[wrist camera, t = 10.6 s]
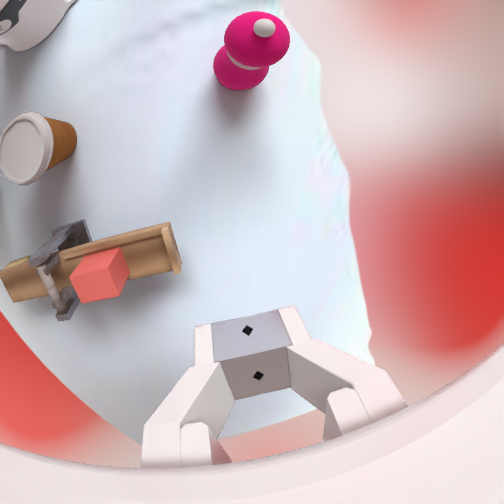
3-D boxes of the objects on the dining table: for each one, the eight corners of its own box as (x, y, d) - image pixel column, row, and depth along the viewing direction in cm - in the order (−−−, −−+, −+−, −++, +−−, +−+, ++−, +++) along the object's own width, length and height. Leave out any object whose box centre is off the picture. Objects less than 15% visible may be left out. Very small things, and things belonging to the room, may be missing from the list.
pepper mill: (260, 95, 36) (309, 69, 18) (211, 92, 35) (216, 59, 17) (263, 51, 33) (310, -1, 15) (214, 48, 32) (223, -13, 14)
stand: (53, 229, 38) (17, 262, 27) (84, 219, 39) (50, 251, 28) (75, 281, 43) (48, 323, 32) (105, 274, 44) (82, 318, 33)
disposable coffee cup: (87, 109, 32) (49, 106, 21) (84, 169, 36) (47, 186, 25) (40, 115, 30) (-4, 118, 19) (38, 171, 34) (-4, 189, 23)
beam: (9, 259, 36) (-17, 284, 27) (171, 211, 38) (162, 235, 30) (24, 291, 39) (3, 320, 31) (184, 255, 41) (179, 288, 33)
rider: (85, 256, 34) (69, 277, 29) (120, 246, 34) (107, 267, 29) (95, 280, 36) (81, 303, 30) (129, 272, 36) (119, 295, 31)
